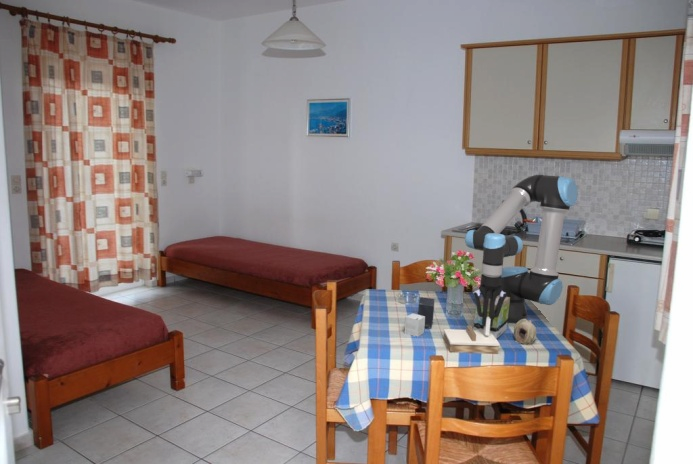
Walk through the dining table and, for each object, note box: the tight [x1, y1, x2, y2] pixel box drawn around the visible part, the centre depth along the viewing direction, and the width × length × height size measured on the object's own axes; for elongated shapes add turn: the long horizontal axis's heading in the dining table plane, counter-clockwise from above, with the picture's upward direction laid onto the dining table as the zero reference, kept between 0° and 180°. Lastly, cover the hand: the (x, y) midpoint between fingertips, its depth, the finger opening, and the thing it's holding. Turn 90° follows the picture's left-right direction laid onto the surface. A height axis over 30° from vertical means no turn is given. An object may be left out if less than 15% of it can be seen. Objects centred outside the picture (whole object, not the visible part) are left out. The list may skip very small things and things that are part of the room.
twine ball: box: [513, 318, 537, 345], centre depth 220 cm, size 9×8×10 cm
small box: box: [417, 296, 435, 330], centre depth 236 cm, size 11×6×10 cm, turn 168°
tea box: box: [472, 295, 510, 340], centre depth 229 cm, size 15×10×15 cm
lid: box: [443, 325, 501, 347], centre depth 213 cm, size 18×14×3 cm
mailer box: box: [443, 332, 500, 355], centre depth 214 cm, size 18×13×3 cm
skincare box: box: [404, 312, 425, 338], centre depth 225 cm, size 6×6×7 cm
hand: (486, 334), depth 213 cm, fingers closed
